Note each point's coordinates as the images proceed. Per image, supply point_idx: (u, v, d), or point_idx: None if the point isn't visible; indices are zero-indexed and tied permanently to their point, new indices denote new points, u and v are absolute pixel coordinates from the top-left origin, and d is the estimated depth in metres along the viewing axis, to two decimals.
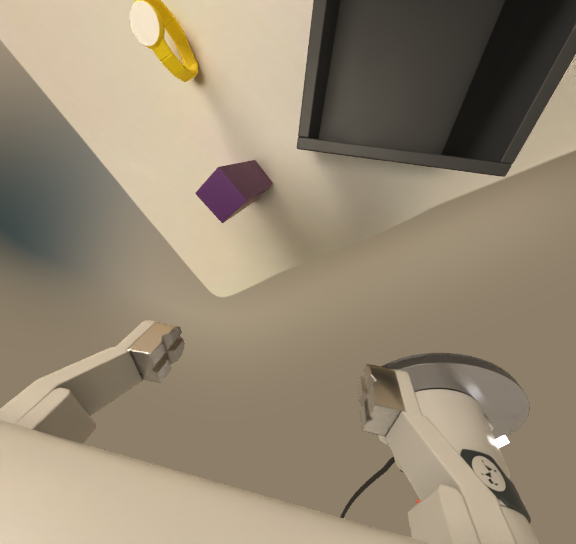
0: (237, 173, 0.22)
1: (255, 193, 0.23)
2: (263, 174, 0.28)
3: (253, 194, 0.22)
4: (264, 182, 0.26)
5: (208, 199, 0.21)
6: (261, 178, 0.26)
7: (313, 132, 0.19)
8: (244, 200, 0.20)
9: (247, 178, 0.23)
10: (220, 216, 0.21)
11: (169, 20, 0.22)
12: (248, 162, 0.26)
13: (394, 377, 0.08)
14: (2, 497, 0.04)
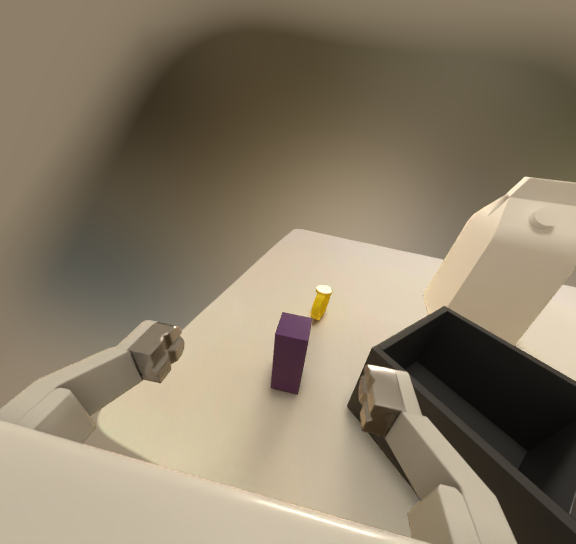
0: None
1: None
2: None
3: (305, 354, 0.24)
4: None
5: (285, 319, 0.26)
6: None
7: None
8: (307, 339, 0.23)
9: None
10: (279, 330, 0.24)
11: (324, 304, 0.42)
12: None
13: (394, 377, 0.08)
14: (2, 497, 0.04)
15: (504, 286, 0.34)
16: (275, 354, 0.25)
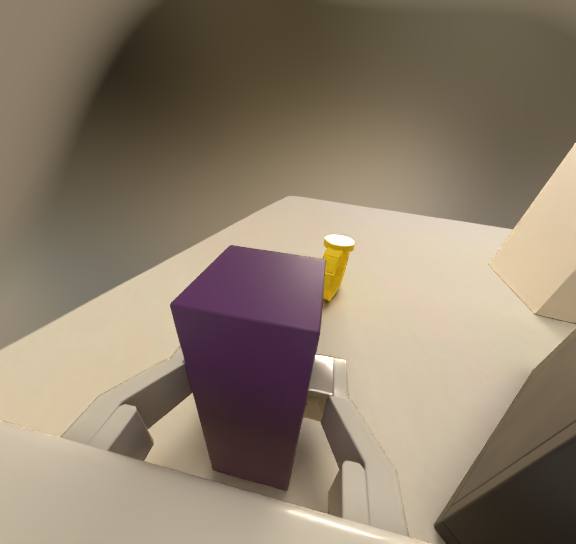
0: None
1: (305, 400, 0.06)
2: None
3: None
4: None
5: (232, 261, 0.07)
6: None
7: None
8: (312, 327, 0.05)
9: None
10: (196, 292, 0.06)
11: (338, 275, 0.24)
12: None
13: (331, 364, 0.08)
14: (3, 497, 0.04)
15: None
16: (196, 387, 0.07)
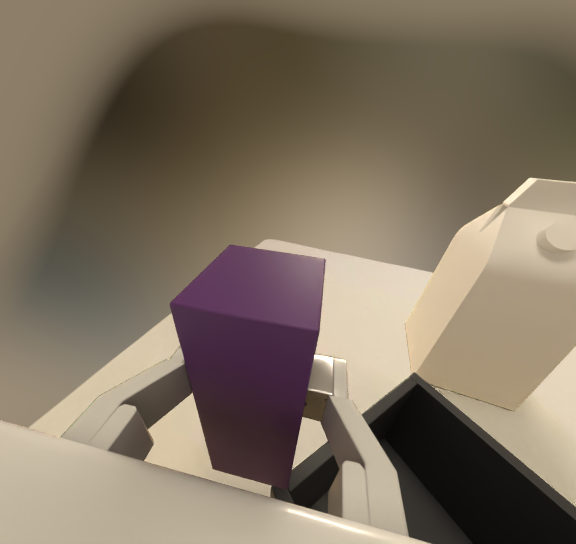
0: None
1: (305, 399, 0.06)
2: None
3: (307, 386, 0.06)
4: None
5: (232, 261, 0.07)
6: None
7: None
8: (312, 326, 0.05)
9: None
10: (196, 291, 0.06)
11: None
12: None
13: (331, 364, 0.08)
14: (3, 497, 0.04)
15: (504, 331, 0.24)
16: (196, 386, 0.07)
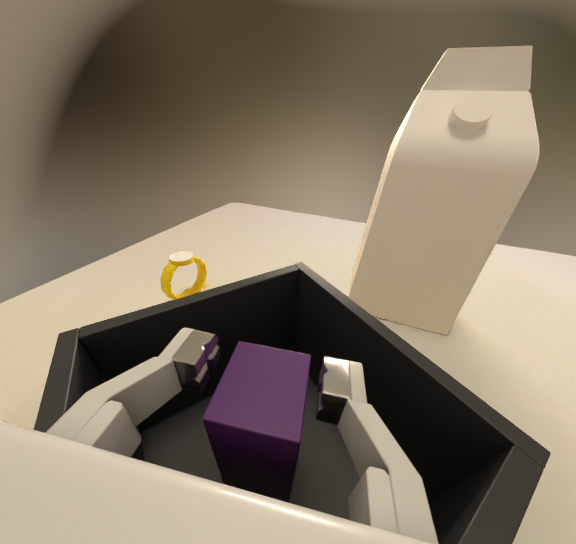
0: None
1: (295, 469, 0.09)
2: None
3: None
4: None
5: (241, 364, 0.10)
6: None
7: (113, 371, 0.12)
8: (296, 438, 0.08)
9: None
10: (218, 404, 0.08)
11: (200, 281, 0.31)
12: None
13: (347, 367, 0.08)
14: (3, 497, 0.04)
15: (424, 236, 0.22)
16: (218, 456, 0.10)
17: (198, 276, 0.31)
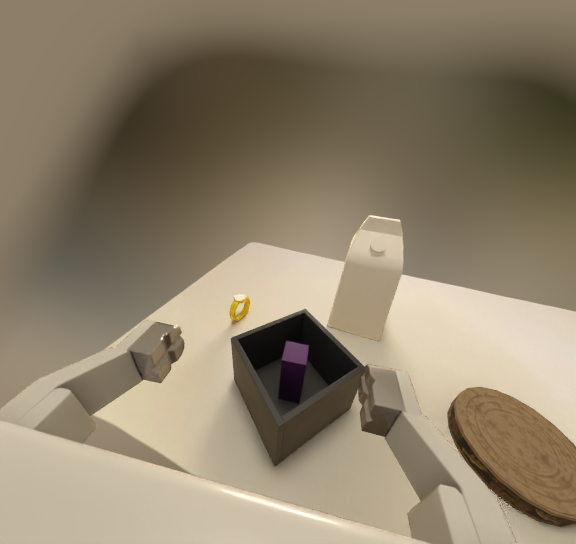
0: None
1: None
2: None
3: (304, 374, 0.33)
4: None
5: (288, 347, 0.34)
6: None
7: None
8: (305, 364, 0.31)
9: None
10: (285, 357, 0.32)
11: (246, 308, 0.55)
12: None
13: (394, 377, 0.08)
14: (3, 497, 0.04)
15: (362, 293, 0.46)
16: (281, 374, 0.33)
17: (244, 306, 0.55)
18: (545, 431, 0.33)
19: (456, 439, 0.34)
